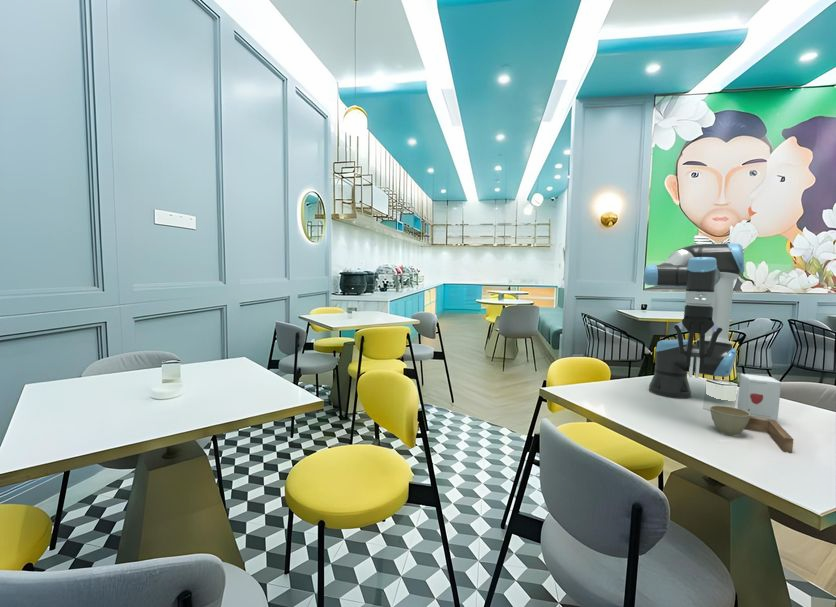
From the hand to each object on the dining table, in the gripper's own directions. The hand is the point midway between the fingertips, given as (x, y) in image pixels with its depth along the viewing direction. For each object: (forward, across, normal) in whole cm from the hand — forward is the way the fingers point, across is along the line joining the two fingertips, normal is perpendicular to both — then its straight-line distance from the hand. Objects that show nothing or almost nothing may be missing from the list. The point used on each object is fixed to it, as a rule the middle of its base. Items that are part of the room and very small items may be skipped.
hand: (693, 376), depth 128 cm
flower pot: (+17, +10, 0) cm, 19 cm away
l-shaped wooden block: (+16, +17, 0) cm, 24 cm away
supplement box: (+17, +21, +22) cm, 35 cm away
